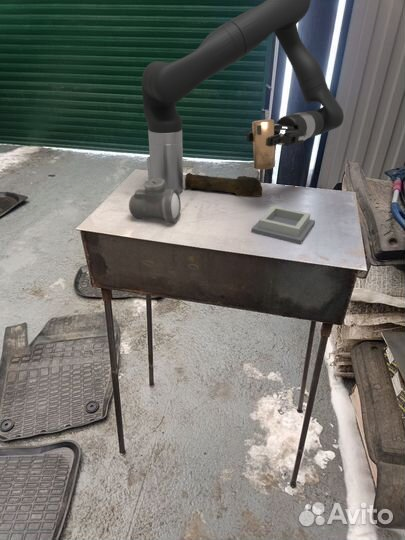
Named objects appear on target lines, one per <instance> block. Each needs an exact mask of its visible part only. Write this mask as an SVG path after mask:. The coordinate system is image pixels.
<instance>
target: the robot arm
mask: <svg viewBox="0 0 405 540" xmlns="http://www.w3.org/2000/svg"><path fill="white" fill-rule="evenodd" d="M311 2H312V0H265V1H263V2H261V3H260V4H259V5H257V6H255V7H252V8H250V9H248V10H246V11H245V12H243V13H241V14H239V15H237V16H236V17H234V18H232V19H230V20H228V21H226V22H224V23H223V24H221V25H220V26H218V27H216V28H215V29H213V30H212V31H211V32H210V33H209V34H208V35H207V36H206V37H205V38H204V40H203V41H202V42H201V43H200V44H199V46H198V47H197V48H196V49H195V50H194V51H192V52H191V53H189V54H187V55H185V56H184V57H181V58H178V59H177V60H175V61H172V62H165V61H157V60H156V61H153V62H151V63H149V64H147V66H145V68H144V71H143V72H142V77H141V94H142V103H143V114H144V116H145V120H146V122H147V130H148V134H147V135H148V144H149V145H148V148H149V156H148V157H147V158H146V162H147V163H146V165H147V181H148V180H150V179H155V178H161V179H164V181H165V189H166V190H167V189H176V190H177V191H178V193H179V194H180V193H182V192H183V190H184V163H183V161H184V160H183V158H184V155H183V154H184V153H183V119H182V117H181V116H180V114H179V113H178V111H177V107H176V103H178V102H180V101H181V100H183V98H185V97H187V96H188V95H189V94H190V93H191V92H192V91H193V90H195V89H196V88H197V87H198V86H200V85H201V84H202V83H203V82H205V81H206V80H208V79H210V78H211V77H213V76H215V75H216V74H218V73H220V72H221V71H223V70H225V69H226V68H228V67H230V66H231V65H234V64H235V63H237V62H238V61H241V59H243V58H244V57H246V56H247V55H248V54H250V53H251V52H252V51H253V50H255V49H256V48H257V47H258V46H260V45H261V44H262V43H263V42H264V41H265V40H266V39H267V38H268V37H269V36H271V34H273V33H274V35H275V36H276V38H277V40H278V42H279V44H280V46H281V48H282V50H283V52H284V54H285V55H286V57H287V58H288V62H289V63H290V65H291V67H292V70H293V72H294V74H295V77H296V80H297V82H298V83H297V84H298V85H299V88H300V91H301V93H302V97H303V99H304V101H305V103H306V104H312V103H313V104H314V103H315V102H316V103H319V104H320V105H321V106H322V107H321V108H317V109H316V110H307V111H304V112H296V113H292V114H288V115H284V116H282V117H280V118H279V119H278V120H277V121H276V123H274V135H273V136H270V137H268V141H267V146H269V147H271V146H277V145H278V146H285V147H290V146H294V145H295V146H296V145H299V144H303V143H304V141H306V140H307V139H310V138H313V137H316V136H320V135H323V134H325V133H327V132H330V131H332V130H335V129H338V128H339V127H340V126H342V124H343V123H344V117H345V115H344V111H343V108H342V106H341V105H340V104H339V102H338V101H337V99H336V98H335V96H334V94H333V93H332V92H331V91H330V89H329V87H328V84H327V81H326V78H325V76H324V75H325V74H324V71H323V70H322V67H321V64H320V63H319V61H318V60H317V58H316V57H315V55H313V54H312V53H311V52H310V50H309V49H308V48H307V47H306V45H305V44H304V43H303V41H302V39H301V37H300V34H299V31H298V27H297V24H298V23H299V22H300V21H301V20H303V19H304V17H305V16H306V15H307V13H308V11H309V10H310V7H311ZM246 141H247V143H251V142H252V143H253V128H252V126H251V127H250V131H249V132H247V134H246Z"/></svg>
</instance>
